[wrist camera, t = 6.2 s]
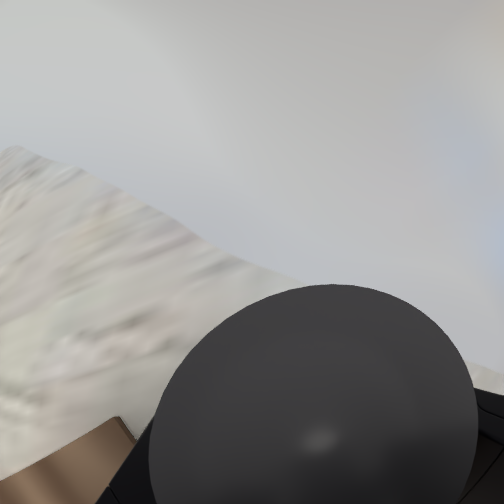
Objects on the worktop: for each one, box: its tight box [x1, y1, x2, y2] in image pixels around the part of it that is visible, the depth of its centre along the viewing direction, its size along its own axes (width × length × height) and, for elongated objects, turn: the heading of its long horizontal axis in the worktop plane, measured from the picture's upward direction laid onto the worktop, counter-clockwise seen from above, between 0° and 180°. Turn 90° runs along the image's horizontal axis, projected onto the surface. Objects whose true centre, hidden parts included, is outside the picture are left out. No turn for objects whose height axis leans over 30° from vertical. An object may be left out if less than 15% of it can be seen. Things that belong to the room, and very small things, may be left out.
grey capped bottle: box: [148, 284, 478, 504], centre depth 8 cm, size 5×5×11 cm
